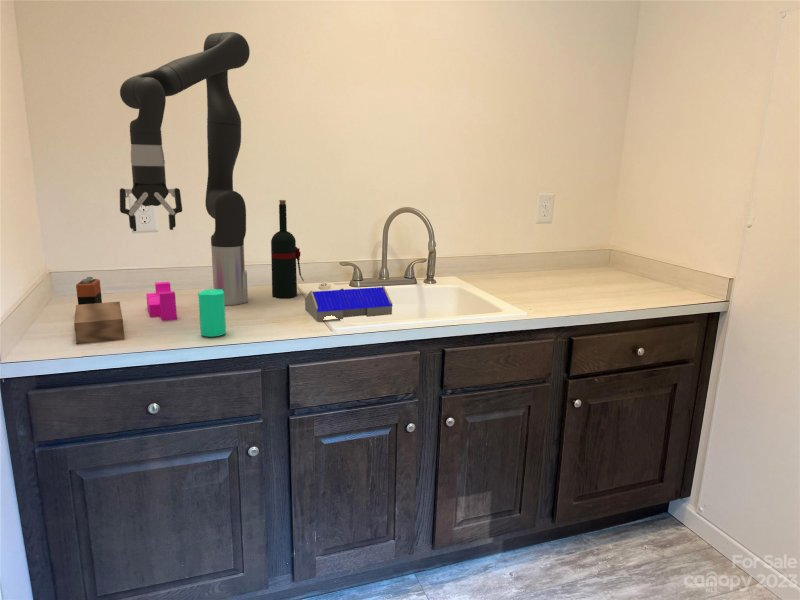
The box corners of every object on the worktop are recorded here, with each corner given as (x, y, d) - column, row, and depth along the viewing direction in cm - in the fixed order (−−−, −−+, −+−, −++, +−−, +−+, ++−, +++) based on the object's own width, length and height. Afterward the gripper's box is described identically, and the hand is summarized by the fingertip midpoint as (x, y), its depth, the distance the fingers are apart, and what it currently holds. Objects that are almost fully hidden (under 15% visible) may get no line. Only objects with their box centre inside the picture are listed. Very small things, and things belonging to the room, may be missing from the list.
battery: (78, 317, 154) (74, 281, 152) (86, 311, 160) (82, 275, 158) (96, 317, 155) (93, 280, 153) (103, 310, 161) (99, 275, 159)
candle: (216, 328, 148) (214, 282, 145) (230, 332, 145) (228, 285, 142) (195, 333, 144) (192, 285, 141) (209, 338, 140) (207, 289, 137)
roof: (375, 304, 177) (375, 281, 176) (392, 316, 165) (393, 291, 163) (304, 310, 169) (304, 285, 167) (317, 323, 156) (317, 296, 155)
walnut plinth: (121, 319, 153) (119, 301, 152) (124, 339, 138) (122, 318, 136) (78, 323, 149) (76, 304, 147) (76, 344, 133) (74, 323, 132)
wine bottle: (307, 297, 182) (306, 201, 175) (275, 300, 178) (272, 201, 171) (300, 292, 189) (299, 199, 182) (269, 294, 185) (266, 199, 178)
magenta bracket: (147, 308, 165) (145, 283, 164) (170, 306, 168) (169, 281, 166) (151, 322, 152) (149, 294, 151) (176, 320, 155) (175, 292, 153)
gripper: (177, 164, 149) (181, 227, 153) (115, 163, 142) (121, 229, 146) (180, 165, 142) (185, 231, 146) (116, 164, 136) (122, 233, 140)
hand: (153, 230), depth 146 cm, fingers open, 8 cm apart
